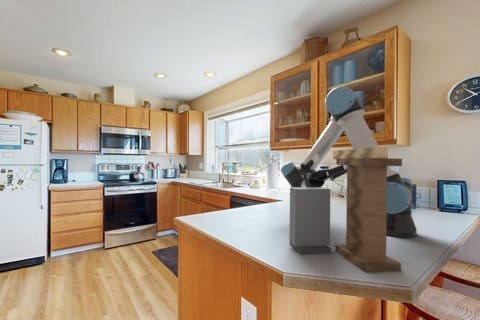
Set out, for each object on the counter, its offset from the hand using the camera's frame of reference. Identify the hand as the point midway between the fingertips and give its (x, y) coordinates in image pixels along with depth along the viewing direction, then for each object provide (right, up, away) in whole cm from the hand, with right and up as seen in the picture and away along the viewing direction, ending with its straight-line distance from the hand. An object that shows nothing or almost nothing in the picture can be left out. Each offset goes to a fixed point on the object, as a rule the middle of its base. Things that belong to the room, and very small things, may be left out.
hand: (335, 157), depth 85 cm
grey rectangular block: (-11, -31, -6) cm, 33 cm away
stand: (+2, -31, -15) cm, 34 cm away
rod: (+2, -1, -10) cm, 11 cm away
